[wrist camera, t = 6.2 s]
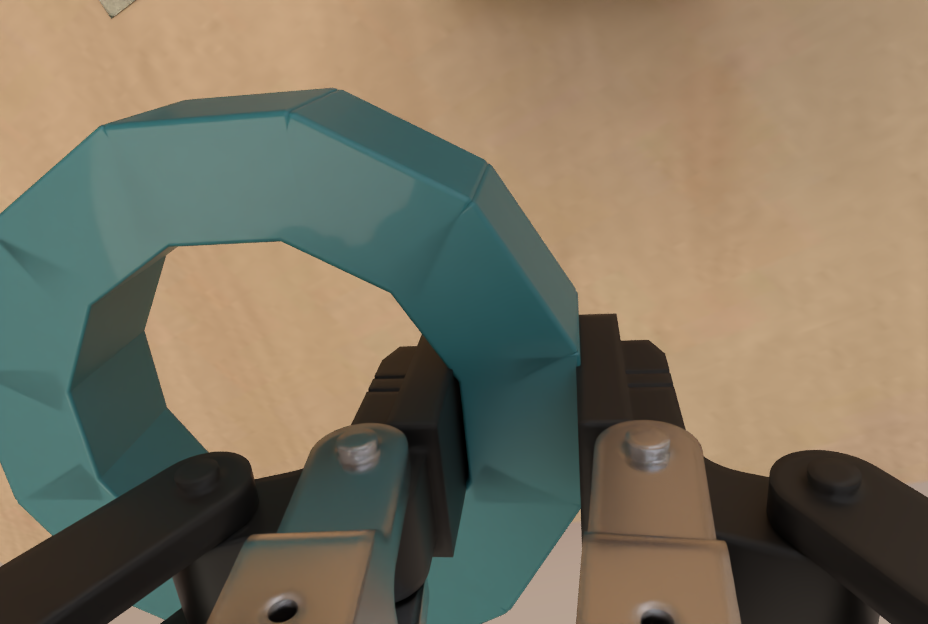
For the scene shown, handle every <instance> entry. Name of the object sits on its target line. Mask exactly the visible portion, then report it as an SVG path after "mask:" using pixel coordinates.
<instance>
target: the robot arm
mask: <svg viewBox="0 0 928 624" xmlns="http://www.w3.org/2000/svg"><path fill="white" fill-rule="evenodd" d="M579 334H580V358H581V365H580V366H577V367H576V380H577V414H578V444H579V473H580V501H581V527H582V528H581V529H582V556H581V568H580V581H579V593H578V606H577V618H576V624H878V622H879V616H880V615H881V616H882V617H883V618H884V619H886V620H887V621H888V622H889V623H891V624H928V497H926V496H924V495H923V494H921V493H919V492H918V491H916V490H914V489H913V488H911V487H909V486H908V485H906V484H905V483H903V482H901V481H900V480H898V479H896V478H895V477H893V476H891V475H890V474H888V473H886V472H885V471H883V470H881V469H880V468H878V467H876V466H874V465H873V464H871V463H869V462H867V461H864V460H862V459H860V458H857V457H854V456H851V455H847V454H843V453H839V452H833V451H826V450H805V451H799V452H794V453H791V454H788V455H786V456H783V457H781V458H780V459H779V460H777V461H776V462H775V463H774V464H773V466H772V468H771V470H770V476H769V477H765V476H760V475H755V474H750V473H745V472H740V471H736V470H732V469H729V468H726V467H723V466H721V465H718V464H716V463H714V462H712V461H710V460H708V459H707V458H705V457H704V456H703V451H702V447H701V445H700V443H699V441H698V440H697V439H696V438H695V437H694V436H693V435H692V434H691V433H689V432H688V431H686V430H685V426H684V422H683V418H682V415H681V411H680V407H679V404H678V400H677V396H676V393H675V389H674V387H673V381H672V378H671V374H670V373H669V367H668V363H667V359H666V356H665V353H664V352H662V351H661V350H660V349H659V348H658V347H656V346H655V345H654V344H653V343H652V342H650V341H649V340H631V341H621V340H620V334H619V327H618V321H617V315H616V314H588V315H579ZM468 471H469V469H468V460H467V451H466V441H465V432H464V423H463V413H462V404H461V395H460V385H459V381H458V380H457V379H456V377H455V376H454V375H453V369H449V368H448V367H447V366H446V364H445V363H444V362H443V361H442V359H441V358H440V357H439V355H438V354H437V353H436V351H435V350H434V349H433V348H432V346H431V345H430V344H429V342H428V341H427V340H426V338H425V337H424V336H423V334H422V336H421V338H420V340H419V343H418V345H417V346H407V347H399V348H398V349H396V350H395V351H394V352H393V353H391V354H390V355H389V356H387V357H386V358H385V359H383V360H382V362H381V364H380V366H379V368H378V370H377V372H376V374H375V379H373V381H372V383H371V385H370V387H369V392H367V393H366V395H365V397H364V399H363V401H362V403H361V405H360V407H359V410H358V412H357V414H356V416H355V418H354V420H353V422H352V424H351V425H350V426H347V427H343V428H341V429H338V430H336V431H333V432H332V433H330V434H328V435H326V436H325V437H323V438H322V439H321V440H319V441H318V442H317V443H316V444H315V445H314V447H313V448H312V450H311V452H310V454H309V456H308V459H307V461H306V463H305V466H304V468H303V469H300V470H296V471H292V472H288V473H283V474H279V475H274V476H269V477H264V478H259V479H254V476H253V472H252V468H251V465H250V463H249V461H248V460H247V459H246V458H245V457H243V456H241V455H239V454H236V453H231V452H210V453H204V454H200V455H195V456H192V457H189V458H186V459H184V460H182V461H179V462H177V463H175V464H174V465H172V466H170V467H168V468H166V469H165V470H163V471H161V472H160V473H158V474H156V475H155V476H153V477H151V478H150V479H148V480H146V481H144V482H143V483H141V484H139V485H138V486H136V487H134V488H133V489H131V490H129V491H128V492H126V493H124V494H122V495H121V496H119V497H117V498H116V499H114V500H112V501H111V502H109V503H107V504H106V505H104V506H102V507H101V508H99V509H97V510H95V511H94V512H92V513H90V514H89V515H87V516H85V517H84V518H82V519H80V520H79V521H77V522H75V523H74V524H72V525H70V526H68V527H67V528H65V529H63V530H62V531H60V532H58V533H57V534H55V535H53V536H52V537H50V538H48V539H46V540H45V541H43V542H41V543H40V544H38V545H36V546H35V547H33V548H31V549H30V550H28V551H26V552H25V553H23V554H21V555H19V556H18V557H16V558H14V559H13V560H11V561H9V562H8V563H6V564H4V565H3V566H1V567H0V624H108V623H109V622H110V621H112V620H113V619H114V618H116V617H117V616H119V615H120V614H122V613H123V612H124V611H126V610H127V609H129V608H130V607H131V606H133V605H134V604H136V603H137V602H138V601H140V600H141V599H142V598H144V597H145V596H147V595H148V594H149V593H151V592H152V591H154V590H155V589H156V588H158V587H159V586H161V585H162V584H163V583H165V582H166V581H168V580H169V579H170V578H173V582H174V585H175V588H176V591H177V594H178V597H179V600H180V603H181V606H182V608H180V609H179V610H178V611H176V612H175V613H174V614H172V615H171V616H170V617H168V618H167V619H166V620H165V621H163V622H162V623H161V624H426V622H427V613H428V605H429V586H428V579H427V576H428V574H429V570H430V566H431V561H432V557H453V556H454V551H455V545H456V540H457V535H458V530H459V525H460V520H461V514H462V509H463V504H464V499H465V494H466V481H467V476H468Z"/></svg>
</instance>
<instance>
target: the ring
mask: <svg viewBox="0 0 928 624" xmlns="http://www.w3.org/2000/svg"><path fill="white" fill-rule="evenodd" d="M276 241H282V242H284V243H286V244H288V245H290V246H292V247H294V248H297V249H299V250H301V251H303V252H305V253H307V254H309V255H311V256H313V257H316V258H318V259H320V260H322V261H324V262H326V263H328V264H330V265H332V266H335V267H337V268H339V269H341V270H343V271H345V272H347V273H349V274H351V275H354V276H356V277H358V278H360V279H362V280H364V281H366V282H368V283H371V284H373V285H375V286H377V287H379V288H381V289H383V290H385V291H387V292H390V293H391V294H392V295H393V297H394V298H395V299H396V301H397V302H398V303H399V305H400V306H401V307H402V308H403V310H404V311H405V312H406V314H407V315H408V316H409V318H410V319H411V320H412V321H413V323H414V324H415V325H416V327H417V328H418V329H419V331H420V332H421V333H422V334H423V336H424V337H425V338H426V340H427V341H428V342H429V344H430V345H431V346H432V348H433V349H434V350H435V351H436V353H437V354H438V355H439V357H440V358H441V359H442V361H443V362H444V363H445V364H446V366H447V367H448V368H449V369H453V375H454V376H455V377H456V379H457V380H458V381H459V385H460V395H461V404H462V413H463V423H464V432H465V441H466V451H467V460H468V469H469V471H468V476H467V481H466V494H465V499H464V504H463V509H462V514H461V520H460V525H459V530H458V535H457V540H456V545H455V551H454V556H453V557H432V561H431V566H430V570H429V574H428V576H427V579H428V586H429V605H428V613H427V622H426V624H482V623H484V622H487V621H489V620H491V619H494V618H496V617H499V616H501V615H503V614H505V613H507V612H508V611H509V610H510V609H511V608H512V607H513V605H514V604H515V602H516V601H517V600H518V598H519V597H520V595H521V594H522V592H523V591H524V590H525V588H526V587H527V585H528V584H529V582H530V581H531V579H532V578H533V577H534V575H535V574H536V572H537V571H538V569H539V568H540V566H541V565H542V563H543V562H544V561H545V559H546V558H547V556H548V555H549V553H550V552H551V550H552V549H553V548H554V546H555V545H556V543H557V542H558V540H559V539H560V538H561V536H562V534H563V533H564V532H565V530H566V529H567V527H568V526H569V524H570V523H571V522H572V520H573V519H574V517H575V516H576V514H577V513H578V512H579V510H580V509H581V501H580V473H579V444H578V414H577V380H576V367H577V366H580V365H581V358H580V334H579V311H578V293H577V292H576V289H575V287H574V286H573V284H572V283H571V281H570V280H569V278H568V277H567V275H566V274H565V272H564V271H563V270H562V268H561V267H560V265H559V264H558V262H557V261H556V259H555V258H554V256H553V255H552V253H551V252H550V250H549V249H548V247H547V246H546V245H545V243H544V242H543V240H542V239H541V237H540V236H539V234H538V233H537V231H536V230H535V228H534V227H533V225H532V224H531V222H530V221H529V219H528V218H527V217H526V215H525V214H524V212H523V211H522V209H521V208H520V206H519V205H518V203H517V202H516V200H515V199H514V197H513V196H512V194H511V193H510V192H509V190H508V189H507V187H506V186H505V184H504V183H503V181H502V180H501V178H500V177H499V175H498V174H497V172H496V171H495V169H494V168H493V167H492V166H491V165H490V164H488V163H487V162H486V161H485V160H484V159H482V158H480V157H478V156H476V155H474V154H472V153H470V152H468V151H466V150H464V149H462V148H460V147H458V146H456V145H453V144H451V143H449V142H447V141H445V140H443V139H441V138H439V137H437V136H435V135H433V134H431V133H429V132H427V131H425V130H423V129H421V128H419V127H417V126H415V125H413V124H411V123H409V122H407V121H405V120H403V119H401V118H399V117H397V116H394V115H392V114H390V113H388V112H386V111H384V110H382V109H380V108H378V107H376V106H374V105H372V104H370V103H368V102H366V101H364V100H362V99H360V98H358V97H356V96H354V95H352V94H350V93H348V92H346V91H344V90H337V89H335V88H325V89H313V90H301V91H289V92H277V93H265V94H253V95H240V96H228V97H216V98H204V99H192V100H184V101H180V102H177V103H174V104H170V105H167V106H164V107H161V108H157V109H154V110H151V111H147V112H144V113H141V114H137V115H134V116H131V117H127V118H124V119H121V120H118V121H114V122H111V123H108V124H104V125H101V126H99V127H98V128H97V129H96V130H95V131H94V132H92V133H91V134H90V135H89V136H88V137H87V138H86V139H84V140H83V141H82V142H81V143H80V144H79V145H78V146H77V147H75V148H74V149H73V150H72V151H71V152H70V153H69V154H67V155H66V156H65V157H64V158H63V159H62V160H61V161H59V162H58V163H57V164H56V165H55V166H54V167H53V168H52V169H50V170H49V171H48V172H47V173H46V174H45V175H44V176H42V177H41V178H40V179H39V180H38V181H37V182H36V183H35V184H33V185H32V186H31V187H30V188H29V189H28V190H27V191H25V192H24V193H23V194H22V195H21V196H20V197H19V198H17V199H16V200H15V201H14V202H13V203H12V204H11V205H10V206H8V207H7V208H6V209H5V210H4V211H3V212H2V213H0V463H1V465H2V468H3V470H4V472H5V475H6V477H7V480H8V482H9V485H10V487H11V489H12V492H13V494H14V497H15V499H16V500H18V503H19V504H20V505H21V506H22V507H23V508H24V509H25V510H26V511H27V512H28V513H29V514H30V515H31V516H32V517H33V518H34V519H35V520H36V521H38V522H39V523H40V524H41V525H42V526H43V527H44V528H45V529H46V530H47V531H48V532H49V533H50V534H51V535H52V536H53V535H55V534H57V533H58V532H60V531H62V530H63V529H65V528H67V527H68V526H70V525H72V524H74V523H75V522H77V521H79V520H80V519H82V518H84V517H85V516H87V515H89V514H90V513H92V512H94V511H95V510H97V509H99V508H101V507H102V506H104V505H106V504H107V503H109V502H111V501H112V500H114V499H116V498H117V497H119V496H121V495H122V494H124V493H126V492H128V491H129V490H131V489H133V488H134V487H136V486H138V485H139V484H141V483H143V482H144V481H146V480H148V479H150V478H151V477H153V476H155V475H156V474H158V473H160V472H161V471H163V470H165V469H166V468H168V467H170V466H172V465H174V464H175V463H177V462H179V461H182V460H184V459H186V458H189V457H192V456H195V455H200V454H204V453H209V452H208V451H207V450H206V449H205V448H204V447H203V446H202V445H201V444H200V443H199V442H198V441H197V439H196V438H195V437H194V436H193V435H192V434H191V433H190V432H189V431H188V430H187V429H186V428H185V426H184V425H183V424H182V423H181V422H180V421H179V420H178V419H177V418H176V417H175V416H174V414H173V413H172V412H171V411H170V410H169V409H168V408H167V406H166V403H165V399H164V396H163V392H162V389H161V386H160V382H159V379H158V375H157V372H156V368H155V365H154V362H153V358H152V355H151V351H150V348H149V345H148V341H147V338H146V334H145V331H144V330H145V326H146V323H147V319H148V316H149V312H150V309H151V305H152V302H153V299H154V295H155V292H156V288H157V285H158V281H159V278H160V275H161V271H162V268H163V264H164V261H165V257H166V255H167V254H168V253H170V252H171V251H172V250H174V249H175V248H176V247H178V246H197V245H216V244H236V243H256V242H276ZM133 606H134V607H136V608H138V609H141V610H143V611H145V612H148V613H150V614H152V615H155V616H157V617H160V618H162V619H164V620H166V619H167V618H168V617H170V616H171V615H172V614H174V613H175V612H176V611H178V610H179V609H180V608H182V606H181V603H180V600H179V597H178V594H177V591H176V588H175V585H174V582H173V578H170V579H169V580H168V581H166V582H165V583H163V584H162V585H161V586H159V587H158V588H156V589H155V590H154V591H152V592H151V593H149V594H148V595H147V596H145V597H144V598H142V599H141V600H140V601H138V602H137V603H136V604H134V605H133Z"/></svg>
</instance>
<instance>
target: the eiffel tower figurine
mask: <svg viewBox="0 0 928 624" xmlns="http://www.w3.org/2000/svg"><path fill="white" fill-rule="evenodd" d="M99 1H100V2H101V4H102V5H103V7H104V8H105V10H106V11H107V13H108V14H109V16H110V17H111V19H112V18H113V17H114V16H115V15H117V14H118V13H119V12H121V11H122V10H123V9H124V8H126V7H127V6H128V5H129V4H131V3H132V2H133V1H135V0H99Z"/></svg>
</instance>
